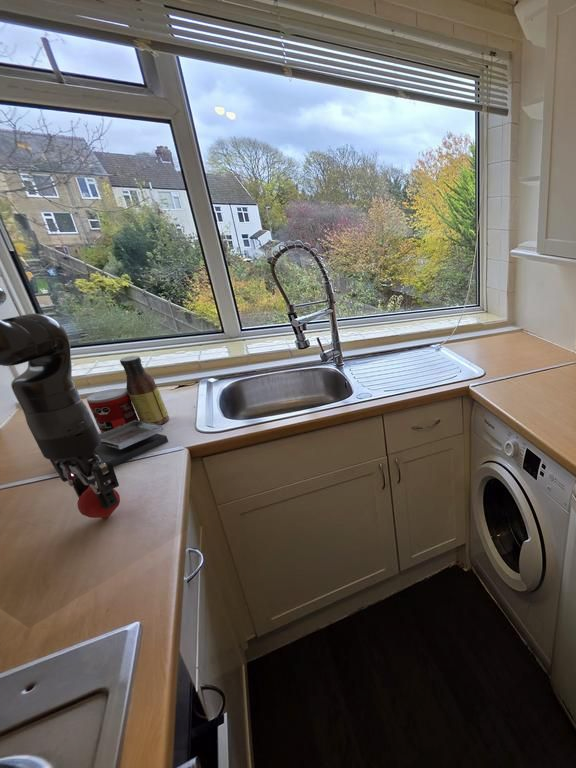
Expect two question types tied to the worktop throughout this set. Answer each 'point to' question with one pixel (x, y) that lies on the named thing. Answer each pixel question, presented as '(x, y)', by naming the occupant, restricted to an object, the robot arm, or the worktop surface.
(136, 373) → the sauce bottle
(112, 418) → the canned food
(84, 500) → the onion
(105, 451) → the scale
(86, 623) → the worktop surface
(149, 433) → the pan
